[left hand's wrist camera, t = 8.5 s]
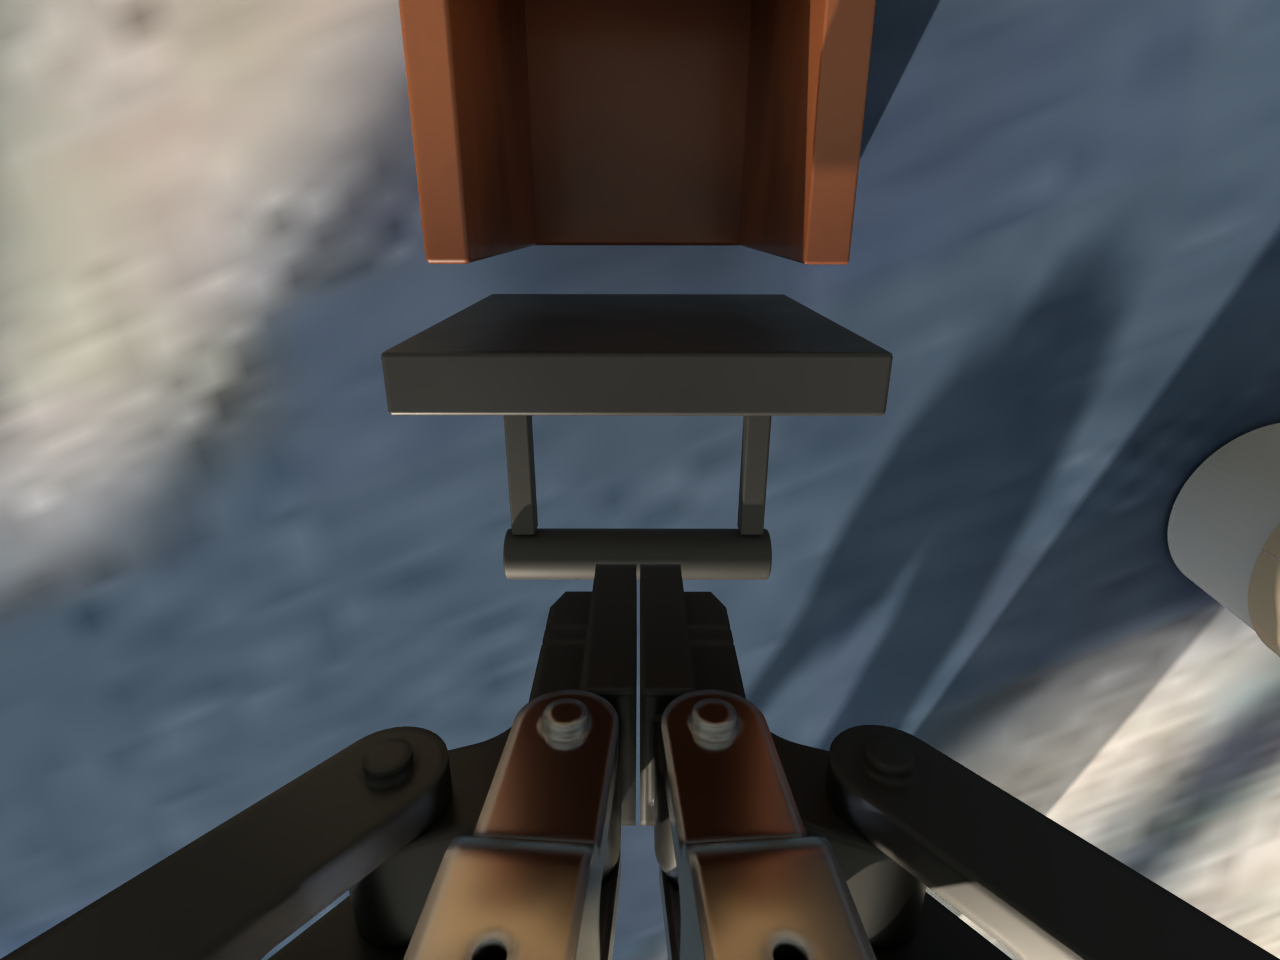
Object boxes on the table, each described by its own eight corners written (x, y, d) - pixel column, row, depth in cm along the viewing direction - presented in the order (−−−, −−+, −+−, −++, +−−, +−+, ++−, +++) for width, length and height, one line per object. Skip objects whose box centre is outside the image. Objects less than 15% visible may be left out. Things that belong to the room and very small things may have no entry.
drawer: (770, 493, 24) (853, 668, 15) (505, 493, 24) (420, 667, 15) (837, -402, 16) (1106, -1244, 7) (439, -403, 16) (166, -1244, 7)
